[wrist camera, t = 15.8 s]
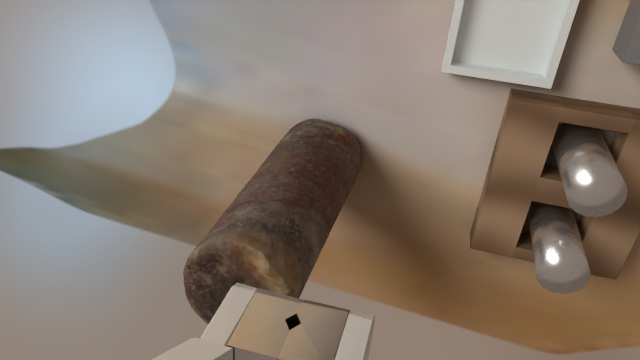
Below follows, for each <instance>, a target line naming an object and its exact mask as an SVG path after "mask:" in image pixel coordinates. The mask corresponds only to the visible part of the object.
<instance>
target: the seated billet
mask: <svg viewBox="0 0 640 360" xmlns="http://www.w3.org/2000/svg"><path fill="white" fill-rule="evenodd" d="M528 220H529V227H530V234H531V241H532V248H533V255H534V262H535V269H536V276H537V279H538V282H539V283H540V284H541V285H542V286H543V287H544V288H545V289H547V290H549V291H552V292H555V293H572V292H575V291H578V290H580V289H581V288H583V287H584V286H585V285H586V284H587V283H588V281H589V279H590V269H589V265H588V262H587V258H586V255H585V251H584V248H583V244H582V241H581V237H580V233H579V230H578V226H577V223H576V219H575V216H574V212H573V209H571V208H566V207H561V206H556V205H551V204H546V203H541V202H535V203H534V204H533V205H532V206H531V207H530V209H529V212H528Z"/></svg>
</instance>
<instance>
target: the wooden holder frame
mask: <svg viewBox="0 0 640 360" xmlns="http://www.w3.org/2000/svg"><path fill="white" fill-rule="evenodd" d="M559 122H563V123H569V124H575V125H581V126H587V127H593V128H599V129H605V130H611V131H617V132H616V135H615V137H614V140H613V142H612V145H611V147H610V149H609V150H610V152H611V154H612V157H613V159H614V161H615V163H616V165H617V167H618V169H619V171H620V173H621V175H622V177H623V180H624V182H625V184H626V186H627V197H626V200H625V202H624V203H623V205H622V206H621V207H620V208H619V209H618V210H616V211H615V212H613V213H611V214H609V215H606V216H601V217H588V216H583V215H582V217H581V219H580V222H579V224H578V230H579V233H580V237H581V241H582V244H583V248H584V251H585V255H586V258H587V262H588V265H589V269H590V274H592V275H597V276H601V277H606V278H610V279H615V280H616V279H617V277H618V275H619V273H620V271H621V269H622V267H623V265H624V263H625V261H626V258H627V256H628V254H629V252H630V250H631V248H632V246H633V244H634V242H635V240H636V238H637V236H638V234H639V232H640V109H636V108H630V107H623V106H617V105H611V104H604V103H598V102H591V101H585V100H579V99H572V98H566V97H560V96H553V95H547V94H541V93H534V92H528V91H522V90H515V89H511V91H510V94H509V98H508V101H507V105H506V108H505V112H504V115H503V119H502V123H501V126H500V130H499V133H498V137H497V140H496V144H495V147H494V151H493V155H492V158H491V162H490V165H489V169H488V172H487V176H486V179H485V183H484V187H483V190H482V194H481V197H480V201H479V204H478V208H477V211H476V215H475V218H474V222H473V226H472V229H471V234H470V248H472V249H476V250H481V251H485V252H490V253H495V254H499V255H504V256H509V257H513V258H518V259H523V260H527V261H532V262H534V255H533V248H532V241H531V235H529V234H525V233H521V231H522V228H523V225H524V222H525V219H526V216H527V213H528V211H529V208H530V205H531V202H532V201H535V202H541V203H546V204H551V205H556V206H561V207H566V208H571V207H570V206H569V204H568V201H567V198H566V194H565V191H564V187H563V183H562V180H561V176H560V172H559V169H558V167H554V166H548V165H544V164H545V161H546V158H547V155H548V153H549V150H550V147H551V144H552V141H553V138H554V135H555V132H556V129H557V127H558V124H559ZM571 209H572V208H571Z"/></svg>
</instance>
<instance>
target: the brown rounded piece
mask: <svg viewBox="0 0 640 360" xmlns="http://www.w3.org/2000/svg"><path fill="white" fill-rule="evenodd" d="M361 163H362V153H361V147H360V146H359V144H358V142H357V140H356V138H355V137H354V136H353V135H352V134H350V132H349V131H347V130H346V129H345V128H343V127H340V126H337V125H335V124H333V123H331V122H328V121H324V120H320V119H308V120H305V121H302V122H300V123H298V124H297V125H295V126H294V127H293V128H291V129H290V131H289V132H288V133H287V134H286V135H285V137H284V138H283V139H282V140H281V141H280V143H279V144H278V145H277V146H276V147H275V149H274V150H273V151H272V153H271V154H270V155H269V157H268V158H267V159H266V160H265V161H264V163H263V164H262V165H261V166H260V168H259V169H258V171H257V172H256V173H255V174H254V176H253V177H252V178H251V180H250V181H249V182H248V183H247V184H246V185H245V187H244V188H243V189H242V191H241V192H240V193H239V194H238V196H237V197H236V198H235V200H234V201H233V202H232V204H231V205H230V206H229V207H228V209H227V210H226V211H225V212H224V213H223V215H222V216H221V217H220V218H219V220H218V221H217V222H216V223H215V225H214V226H213V227H212V229H211V230H210V231H209V232H208V234H207V235H206V236H205V237H204V239H203V240H202V241H201V242H200V243H199V244H198V246H197V247H196V248H195V249H194V251H193V252H192V253H191V254H190V255H189V257H188V259H187V263H186V265H185V268H184V273H183V274H184V285H185V292H186V296H187V299H188V301H189V303H190V305H191V307H192V308H193V310H194V311H195V312H196V313H197V314H198V315H199V316H200V317H201V318H202V319H203V320H204V321H205V322H206V323H207V324H209V323H210V321H211V320H212V318H213V316H214V315H215V313H216V311H217V310H218V308H219V307H220V305H221V303H222V302H223V300H224V298H225V297H226V295H227V293H228V292H229V290H230V289H231V287H232V286H234V285H235V284H236V283H240V284H244V285H248V286H251V287H255V288H261V289H265V290H268V291H272V292H276V293H280V294H283V295H287V296H291V297H295V298H298V299H299V297H300V295H301V293H302V291H303V288H304V286H305V284H306V282H307V280H308V277H309V275H310V273H311V271H312V269H313V267H314V265H315V263H316V261H317V258H318V256H319V254H320V252H321V250H322V248H323V246H324V244H325V242H326V240H327V238H328V236H329V233H330V231H331V229H332V227H333V225H334V223H335V221H336V219H337V217H338V215H339V213H340V211H341V208H342V206H343V204H344V202H345V200H346V198H347V196H348V194H349V192H350V190H351V188H352V186H353V184H354V182H355V180H356V178H357V175H358V173H359V171H360V169H361Z"/></svg>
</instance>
